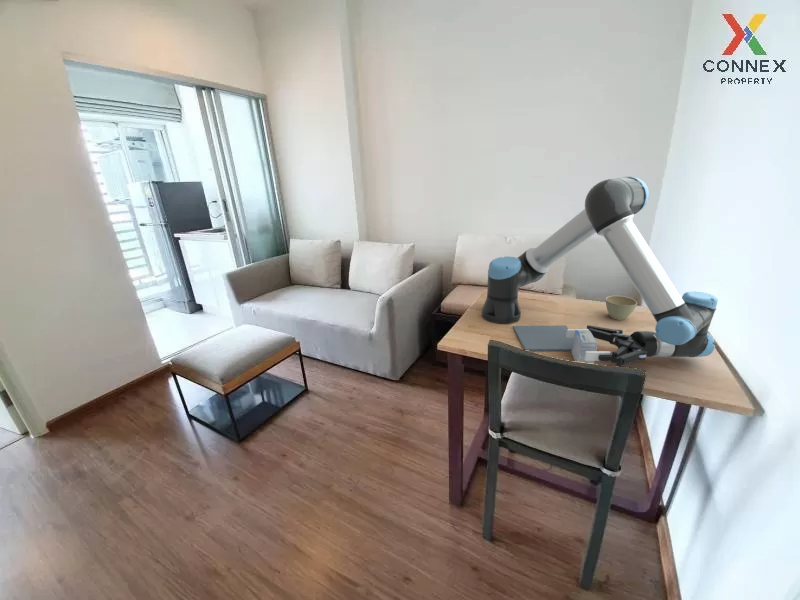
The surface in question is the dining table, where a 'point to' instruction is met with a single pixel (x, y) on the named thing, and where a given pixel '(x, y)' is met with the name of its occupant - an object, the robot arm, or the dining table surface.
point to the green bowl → (620, 306)
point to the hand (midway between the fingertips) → (575, 344)
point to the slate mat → (544, 338)
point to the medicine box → (583, 345)
